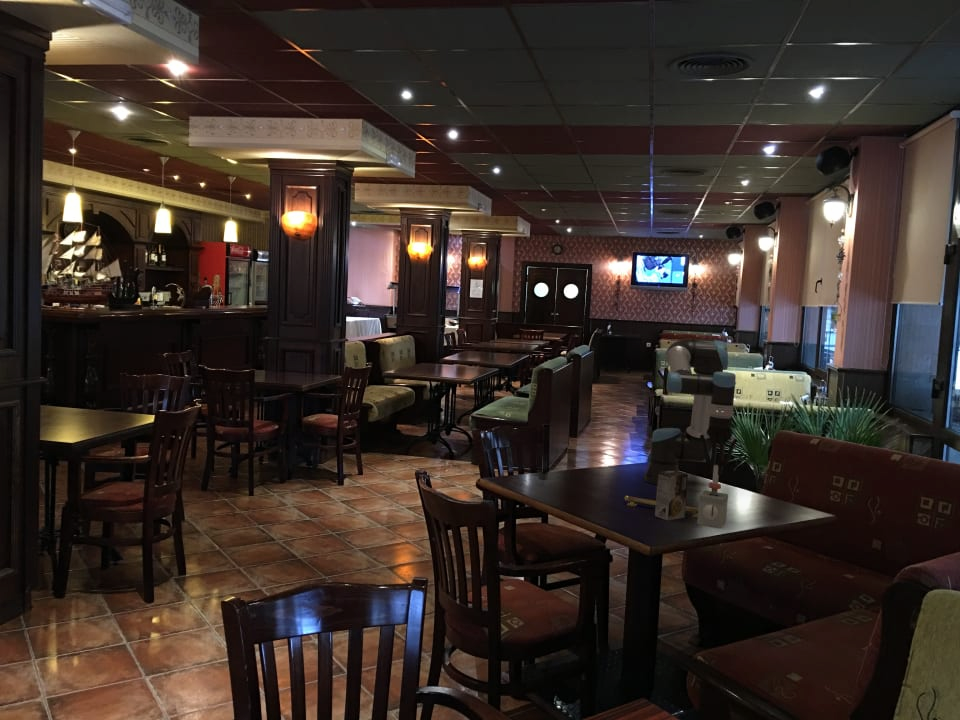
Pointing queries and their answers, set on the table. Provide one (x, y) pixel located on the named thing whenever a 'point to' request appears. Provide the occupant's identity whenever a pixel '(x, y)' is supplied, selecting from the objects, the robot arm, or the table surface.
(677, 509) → the coffee box
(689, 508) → the rail
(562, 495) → the table surface
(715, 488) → the plunger
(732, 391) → the robot arm
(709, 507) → the cabinet
